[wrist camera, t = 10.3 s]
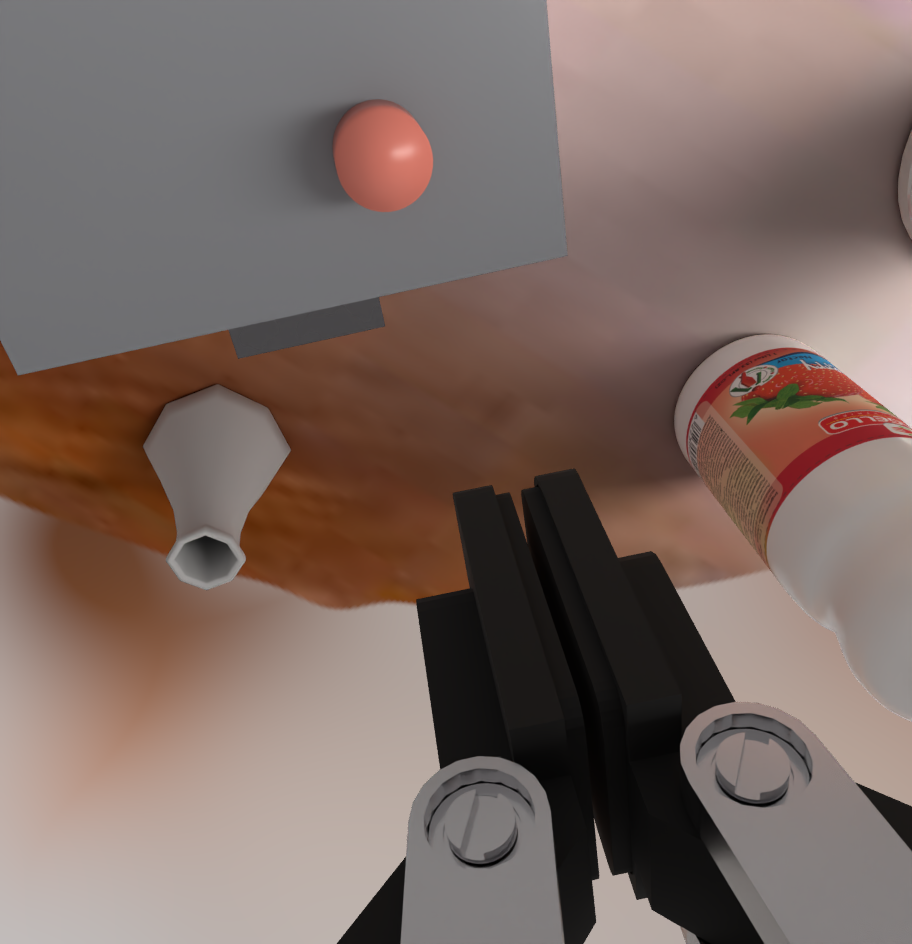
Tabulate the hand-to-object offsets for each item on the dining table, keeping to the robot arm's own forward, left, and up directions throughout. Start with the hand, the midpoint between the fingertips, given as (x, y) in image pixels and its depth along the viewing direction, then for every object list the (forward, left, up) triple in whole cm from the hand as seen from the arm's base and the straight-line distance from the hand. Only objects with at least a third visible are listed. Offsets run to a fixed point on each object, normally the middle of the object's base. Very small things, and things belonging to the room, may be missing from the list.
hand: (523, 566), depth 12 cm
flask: (+11, +15, -32) cm, 37 cm away
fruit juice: (-19, +20, -32) cm, 42 cm away
